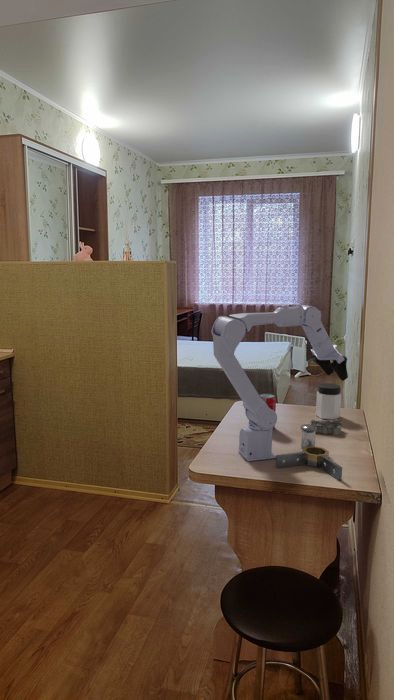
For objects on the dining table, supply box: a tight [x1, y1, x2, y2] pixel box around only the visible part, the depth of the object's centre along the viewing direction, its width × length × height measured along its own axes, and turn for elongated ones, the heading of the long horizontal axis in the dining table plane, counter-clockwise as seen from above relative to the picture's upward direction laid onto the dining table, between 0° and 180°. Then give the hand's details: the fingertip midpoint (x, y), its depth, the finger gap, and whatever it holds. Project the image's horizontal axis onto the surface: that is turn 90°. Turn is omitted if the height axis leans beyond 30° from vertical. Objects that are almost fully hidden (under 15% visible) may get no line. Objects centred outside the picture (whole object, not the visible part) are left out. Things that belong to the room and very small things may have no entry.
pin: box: [300, 423, 317, 451], centre depth 156 cm, size 5×5×7 cm
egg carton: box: [310, 418, 343, 436], centre depth 174 cm, size 11×8×4 cm
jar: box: [315, 382, 342, 421], centre depth 189 cm, size 9×8×12 cm
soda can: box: [259, 393, 277, 430], centre depth 175 cm, size 6×6×12 cm
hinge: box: [275, 446, 343, 481], centre depth 140 cm, size 16×16×4 cm
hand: (337, 376), depth 155 cm, fingers open, 7 cm apart
